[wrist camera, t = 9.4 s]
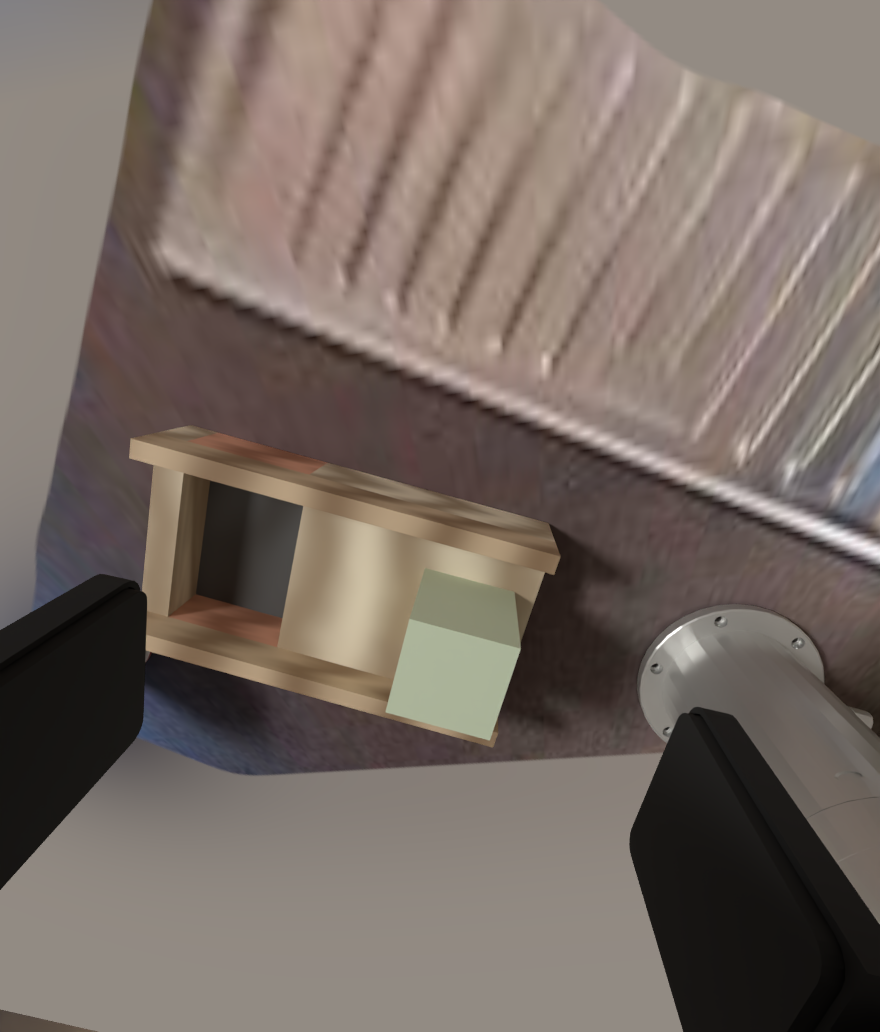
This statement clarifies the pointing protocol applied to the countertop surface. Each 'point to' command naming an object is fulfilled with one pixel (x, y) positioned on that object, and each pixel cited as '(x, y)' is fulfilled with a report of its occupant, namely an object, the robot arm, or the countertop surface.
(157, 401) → the countertop surface
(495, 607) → the sage block
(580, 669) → the countertop surface
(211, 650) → the channel track
